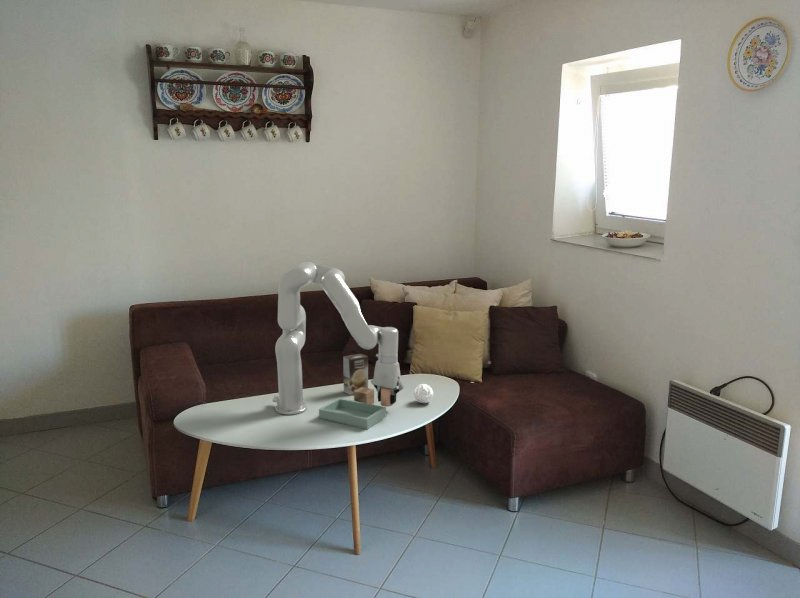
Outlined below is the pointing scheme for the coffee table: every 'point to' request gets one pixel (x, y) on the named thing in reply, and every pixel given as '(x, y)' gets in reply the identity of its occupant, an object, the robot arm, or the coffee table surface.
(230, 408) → the coffee table surface
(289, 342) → the robot arm
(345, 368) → the coffee box
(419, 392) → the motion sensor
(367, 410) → the tote
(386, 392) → the terracotta cylinder
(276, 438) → the coffee table surface
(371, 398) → the walnut block
